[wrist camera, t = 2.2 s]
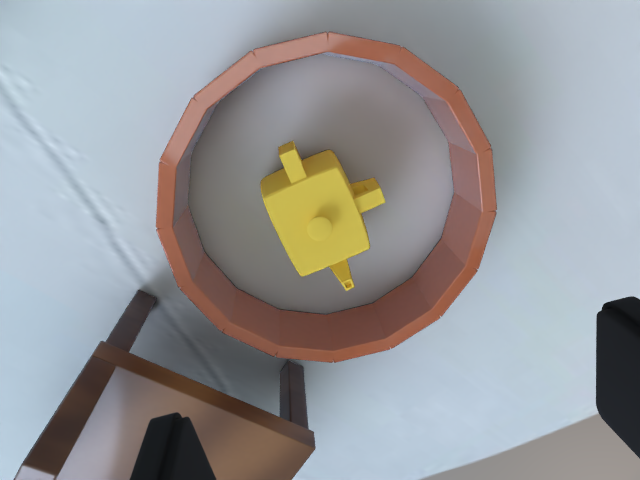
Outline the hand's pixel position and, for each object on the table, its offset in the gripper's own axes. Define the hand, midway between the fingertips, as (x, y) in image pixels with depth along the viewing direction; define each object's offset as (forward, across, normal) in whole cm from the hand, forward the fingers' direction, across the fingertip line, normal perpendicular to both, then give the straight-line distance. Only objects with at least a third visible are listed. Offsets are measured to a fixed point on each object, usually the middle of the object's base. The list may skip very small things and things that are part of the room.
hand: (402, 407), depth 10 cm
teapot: (+17, 0, 0) cm, 17 cm away
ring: (+17, 0, 0) cm, 17 cm away
